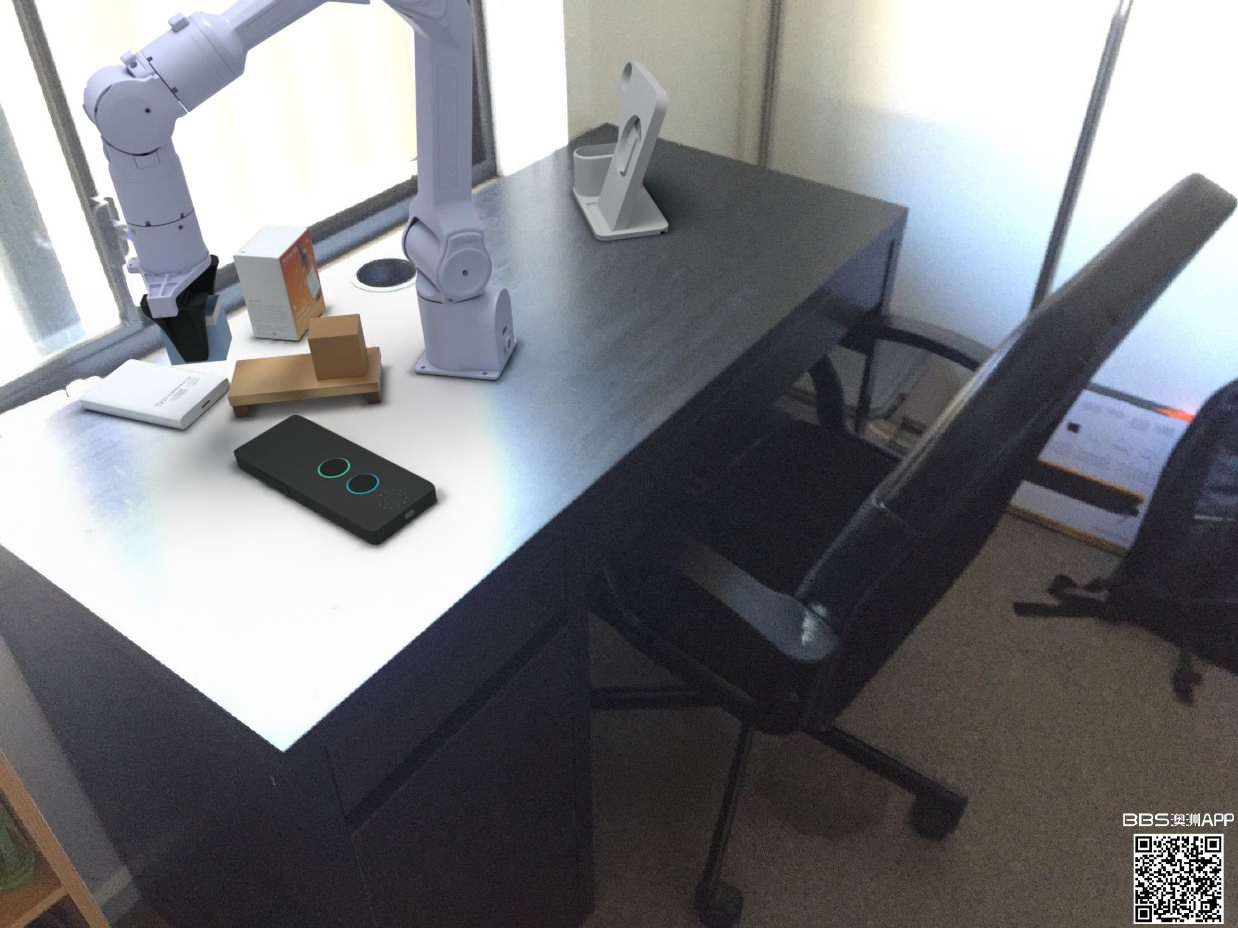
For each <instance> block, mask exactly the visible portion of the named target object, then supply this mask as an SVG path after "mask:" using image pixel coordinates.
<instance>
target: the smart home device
mask: <svg viewBox="0 0 1238 928" xmlns="http://www.w3.org/2000/svg"><path fill="white" fill-rule="evenodd" d="M233 455H234V458H235V462H236V464H237V467H238V468H239V469H240V470H242V471H243V472H244V473H247V474H248V475H251V476H252V477H253V478H255V479H257V480H259V481H261V482H263V483H264V484H266V485H268V486H270V487H271V488H273V489H274V490H277V491H278V492H280V493H282V494H284V495H286V496H287V497H289V498H290V499H292V500H293V501H296V502H298V503H299V504H301V505H303V506H304V507H306V508H308V509H310V510H312V511H313V512H315V513H317V514H319V515H320V516H322V517H324V518H325V519H327V520H329V521H331V522H333V523H334V524H335V525H338V526H339V527H341V528H343V529H345V530H347V531H348V532H350V533H351V534H353V535H355V536H356V537H359V538H360V539H362V540H364V541H366V542H367V543H370V544H373V545H380V544H381V543H383V542H384V541H386V539H388V538H390V537H391V536H392V535H393V534H395V533H396V532H397V531H399V530H400V529H402V528H403V527H404V526H405V525H407V524H408V523H410V522H411V521H413V520H414V519H415V518H416V517H417V516H419V515H421V514H422V513H424V511H425V510H427V509H428V508H430V507H431V506H433V505H434V504H435V503H437V501H438V497H437V491H436V486H435V484H434V483H433V482H431V481H430V480H428V479H426V478H424V477H422V476H420V475H418V474H417V473H414V472H412V471H410V470H409V469H406V468H405V467H403V466H401V465H399V464H396V463H395V462H393V461H391V460H389V459H387V458H384V457H383V456H381V455H379V454H377V453H375V452H373V451H371V450H369V449H367V448H365V447H363V446H361V445H360V444H357V443H356V442H354V441H351V439H348V438H346V437H344V436H342V435H341V434H338V433H337V432H334V431H333V430H330V429H329V428H326V427H324V426H322V425H321V424H318V423H317V422H315V421H313V420H311V419H309V418H307V417H305V416H303V415H300V414H292V415H290V416H288V417H287V418H284V419H283V420H281V421H280V422H278V423H277V424H275V425H273V426H271V427H270V428H268V429H266V430H265V431H263V432H261V433H260V434H258V435H256V436H255V437H253V438H252V439H250V440H248V441H247V442H245V443H243V444H242V445H240V446H238V447H236V448H235V449H233Z"/></svg>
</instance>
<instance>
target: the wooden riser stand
mask: <svg viewBox="0 0 1238 928" xmlns="http://www.w3.org/2000/svg"><path fill="white" fill-rule="evenodd" d="M366 349H367V369H366V375H364V376H354V377H344V378H333V379H323V380H317V377H316V373H315V369H314V365H313V361H312V356H311V352H309V353H300V354H299V353H298V354H289V355H279V356H267V357H258V358H257V357H256V358H248V359H238V360H236V362H235V366H234V370H233V373H232V378H231V382H230V388H229V389H228V393H227V399H228V403H229V407H232V411H233V414H234V417H235V418H236V419H240V418H246V417H247V418H248V417H250V415H251V410H252V406H253V405H256V404H257V405H258V404H268V403H275V402H276V403H278V402H287V401H296V400H307V399H316V398H327V397H336V396H345V395H347V396H348V395H356V394H365V395H364V396H365V400H366V404H367V405H376V404H382V392H383V391H382V389H383V370H384V369H383V365H382V354H381V347H380V346H371V347H366Z"/></svg>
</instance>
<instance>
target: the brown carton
mask: <svg viewBox="0 0 1238 928" xmlns="http://www.w3.org/2000/svg"><path fill="white" fill-rule="evenodd" d="M307 332H308V333H307V344H308V348H309V353H311V356H312V361H313V365H314V369H315V373H316V377H317V380H323V379H333V378H344V377H354V376H364V375H366V369H367V349H366V348H367V345H366V340H365V334H364V329H363V325H362V319H361V314H360V313H351V314H340V315H339V314H338V315H331V316H330V315H329V316H328V315H327V316H318V318H311V319H310V325H309V328H308V331H307Z"/></svg>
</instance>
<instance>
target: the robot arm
mask: <svg viewBox="0 0 1238 928" xmlns="http://www.w3.org/2000/svg"><path fill="white" fill-rule="evenodd" d="M381 1H382V2H384V3H385V4H387V5H388V6H389V8H390V9H392V10H393V11H394V12H395V13H396V14H397V15H398V16H399V17H400V18H401V19H402V20H403V21H404V22H406V23H407V24H408V25H409V26H410V28H412V30H413V36H414V37H413V42H414V43H413V45H414V79H415V80H414V81H415V83H414V85H415V87H414V89H415V122H416V123H415V130H416V171H417V172H416V174H417V178H416V179H417V194H416V195H415V196H414V198H413V199H412V200H411V201H410V203H409V205H408V220H407V223H406V225H405V227H404V229H403V232H402V235H401V250H402V253H403V255H404V256H405V258H406V259H407V260H408V262H410V263H411V264H412V265H414V266H415V270H416V277H415V283H414V285H415V292H416V297H417V299H416V300H417V304H418V311H419V318H420V323H421V329H422V336H423V341H424V342H423V343H424V349H425V350H424V351H423V352H422V354H421V356H420V358H419V359H418V360H417V362H416V363H415V365H414V367H413V370H414V373H417V374H429V375H439V376H450V377H458V378H459V377H460V378H471V379H480V380H481V379H482V380H490V381H491V380H492V381H493V380H498V379H499V378H500V376H501V374H502V372H503V370H504V369H505V367H506V365H507V363H508V360H509V358H510V356H511V355H512V353H513V352H514V350H515V347H516V345H517V339H516V338H515V332H514V322H513V311H512V303H511V296H510V293H509V290H508V289H507V288H506V287H502V286H499V285H495V284H493V283H490V282H489V280H490V279H491V277H492V271H493V263H492V262H493V261H492V258H491V255H490V253H489V252H488V251H489V250H488V249H487V247H486V244H485V229H484V227H483V223H482V221H481V219H480V217H479V213H478V212H477V210H476V207H475V205H474V203H473V200H472V198H473V197H472V194H473V192H472V191H473V189H472V188H473V183H472V182H473V68H474V67H473V64H474V63H473V60H474V59H473V57H474V56H473V54H474V51H473V49H474V48H473V47H474V45H473V44H474V43H473V41H474V37H473V36H474V19H473V11H472V8H471V6H470V4H469V2H468V0H381ZM330 2H332V3H343V4H353V5H364V6H365V5H367V6H369V5H371V0H237V1H236V2H235V3H233V4H232V5H231V6H229V7H228V8H227V9H225V11H222V13H220V14H215V13H214V14H213V13H209V12H204V11H199V10H198V11H193V12H192V13H191V14H190V15H189V16H187V17H186V16H185V15H184V14H183V13H182V12H177V13H176V14H174V15H173V16H172V17H170V18H169V19H168V20H167V23H168V24H169V26H170V28H169V29H168V30H166V31H165V32H164V33H162V34H161V35H159V36H158V37H157V38H155V39H154V40H152V41H151V42H150V43H148V44H147V45H145V46H144V47H142V48H141V49H140V50H139V51H137V52H135V53H134V54H133V53H132V51H131V50H127V51H126V52H124V53H123V54H122V55H120V56H119V58H120V60H121V62H122V63H123V64H117V65H112V64H111V65H107V66H103V67H101V68H99V69H97V70H96V71H95V72H94V73H93V74H91V76H90V77H89V78H88V80H87V81H86V87H83V103H82V104H81V106H82V109H83V111H84V113H85V115H86V117H87V118H88V119H89V120H90V122H91V123H92V124H93V125H94V126H95V127H96V129H97V130H98V132H99V133H100V140H101V142H102V153H103V154H104V156H105V159H106V160H107V162H108V165H107V168H108V169H107V170H108V173H109V176H110V179H111V182H112V185H113V188H114V191H115V194H116V197H117V199H118V203H119V206H120V210H121V212H122V215H123V218H124V220H125V223H126V227H127V230H128V233H129V236H130V238H131V241H132V244H133V247H134V250H135V253H136V256H133V257H130V258H129V259H128V261H127V262H126V269H127V272H128V273H129V274H131V275H132V274H133V275H135V274H139V275H140V276H141V278H142V280H143V283H144V286H145V288H146V290H147V293H143V295H142V297H141V299H140V302H139V306H140V309H141V311H142V313H143V315H144V316H145V317H147V318H149V319H150V320H151V321H152V322H154V323H155V324H156V325H157V327H158V326H159V327H160V328H161V329H162V330H163V331H164V332H165V334H166V335H167V336H168V338H169V339H170V340H171V342H172V343H173V345H174V346H175V348H176V350H177V351H178V353H179V354H180V356H181V357H182V358H183V360H184V361H185V362H186V363H189V362H199V361H207V360H208V357H209V345H208V338H207V331H206V321H205V313H206V303H207V299H208V295H216V280H217V279H216V278H217V272H218V267H219V264H220V258H219V256H218V255H216V254H212V253H211V254H210V250H209V249H208V247H207V245H206V243H205V241H204V237H203V233H202V230H201V227H200V224H199V223H200V222H199V221H198V217H197V213H196V210H195V206H194V203H193V199H192V196H191V192H190V189H189V186H188V183H187V182H188V181H187V179H186V176H185V171H184V168H183V165H182V161H181V158H180V156H179V154H178V153H177V152H176V148H175V146H174V142H173V138H172V137H173V134H174V132H175V127H176V122H177V120H178V119H181V118H183V117H185V116H187V115H188V113H191V112H192V111H193V110H194V109H196V108H198V107H199V106H200V105H202V104H203V103H205V102H206V101H207V100H209V99H210V98H211V97H213V96H215V95H216V94H217V93H219V92H220V91H222V90H223V89H225V88H226V87H228V85H230V84H231V83H233V82H234V81H235V80H237V79H239V78H240V77H241V76H243V75H244V73H245V70H246V62H247V58H248V53H249V51H250V50H252V49H254V48H256V47H257V46H259V45H260V44H262V43H263V42H265V41H267V40H268V39H269V38H271V37H273V36H274V35H276V34H278V33H279V32H281V31H282V30H284V29H285V28H288V27H289V26H290V25H292V24H294V23H296V22H297V21H298V20H300V19H302V18H304V17H305V16H306V15H308V14H309V13H311V12H313V11H315V10H316V9H317V8H319V7H321V6H322V5H324V4H326V3H330ZM159 327H158V328H159Z"/></svg>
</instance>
